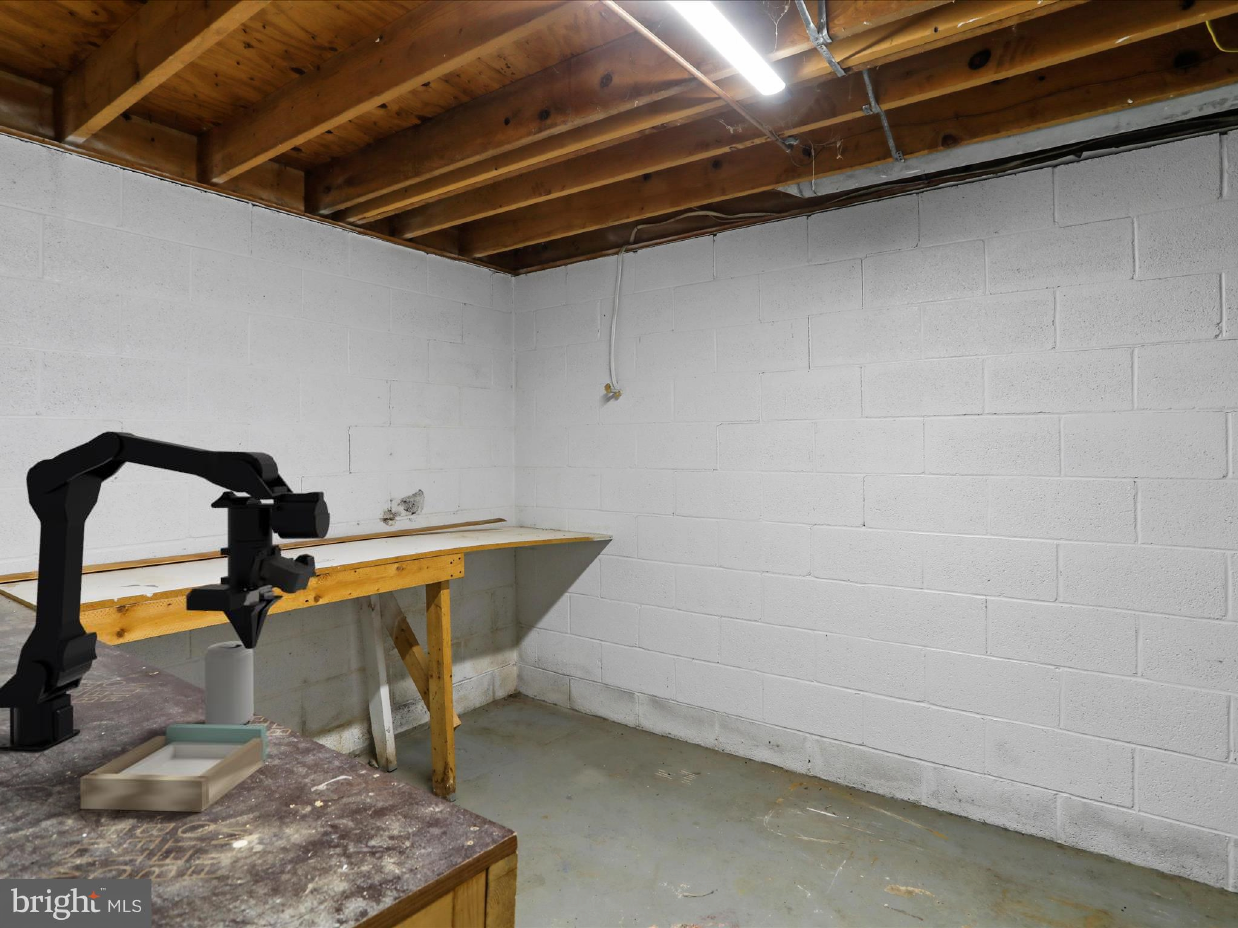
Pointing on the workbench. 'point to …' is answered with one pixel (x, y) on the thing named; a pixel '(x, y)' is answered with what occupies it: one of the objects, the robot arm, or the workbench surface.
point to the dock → (166, 781)
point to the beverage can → (228, 684)
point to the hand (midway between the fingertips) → (250, 648)
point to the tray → (196, 748)
